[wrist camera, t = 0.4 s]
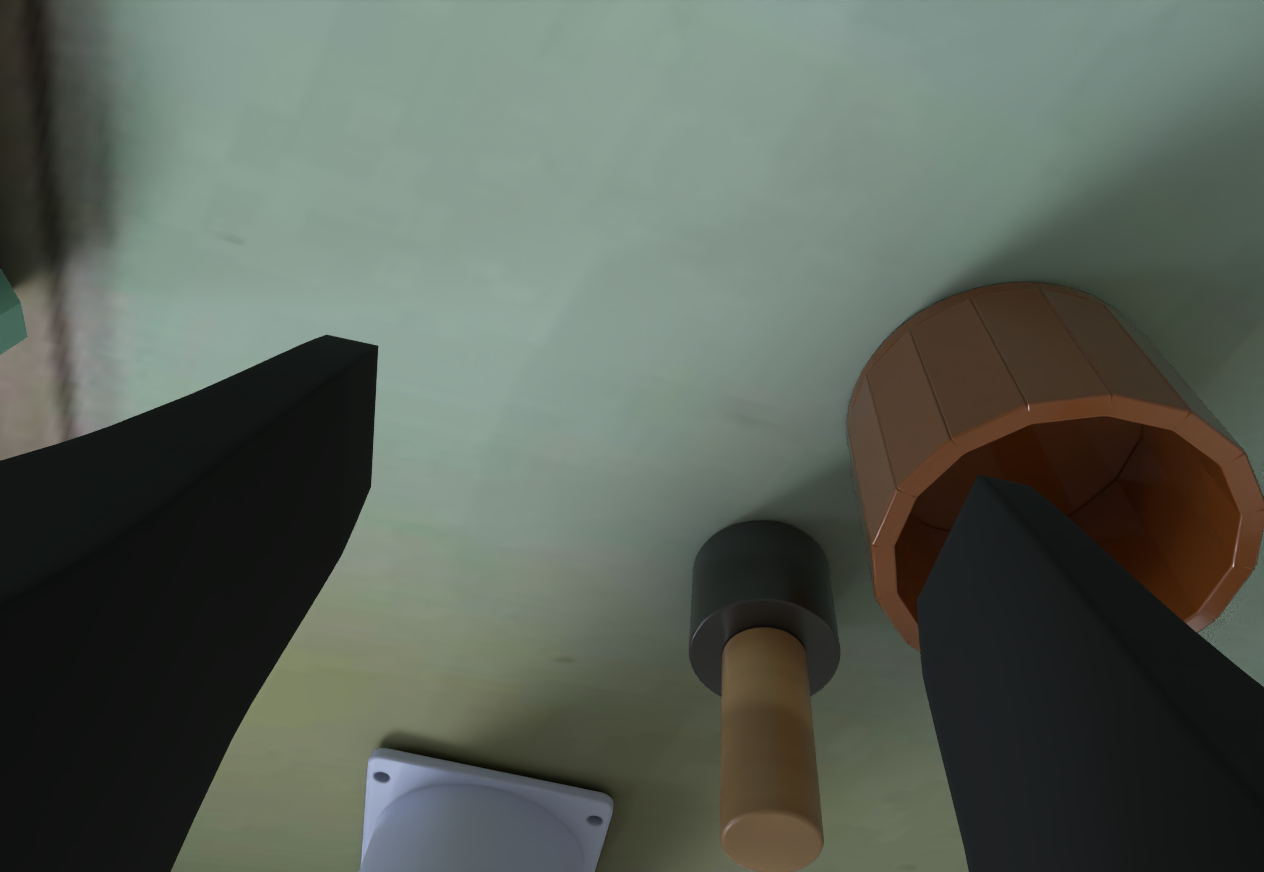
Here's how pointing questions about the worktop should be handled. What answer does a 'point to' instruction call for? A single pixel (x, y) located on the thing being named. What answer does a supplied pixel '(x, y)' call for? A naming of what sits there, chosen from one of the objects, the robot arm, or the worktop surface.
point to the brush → (765, 684)
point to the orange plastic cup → (1047, 445)
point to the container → (10, 316)
